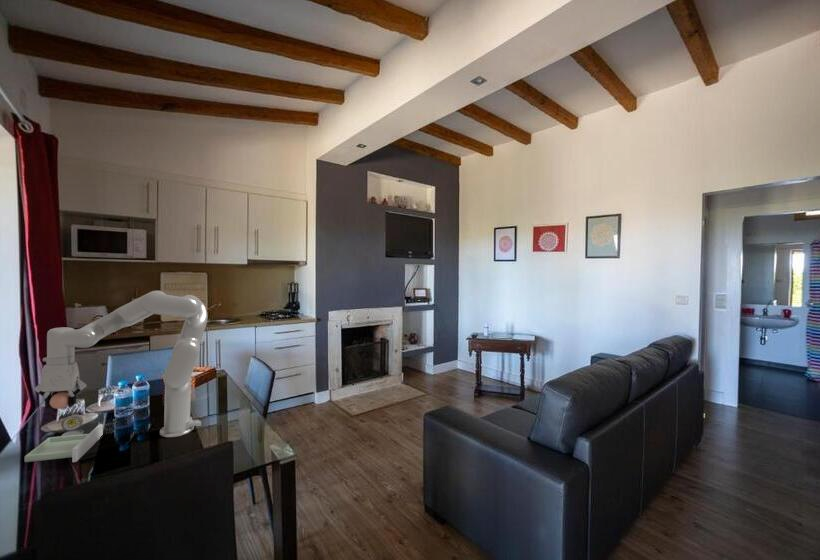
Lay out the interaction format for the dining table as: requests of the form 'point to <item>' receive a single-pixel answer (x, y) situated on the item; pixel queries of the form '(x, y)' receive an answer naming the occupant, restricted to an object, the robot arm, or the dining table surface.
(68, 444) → the tray
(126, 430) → the dining table surface
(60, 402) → the ball
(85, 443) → the wall
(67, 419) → the pocket watch
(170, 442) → the dining table surface
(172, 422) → the robot arm
